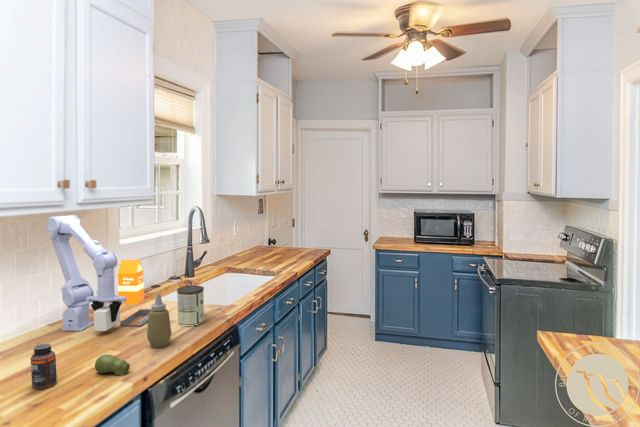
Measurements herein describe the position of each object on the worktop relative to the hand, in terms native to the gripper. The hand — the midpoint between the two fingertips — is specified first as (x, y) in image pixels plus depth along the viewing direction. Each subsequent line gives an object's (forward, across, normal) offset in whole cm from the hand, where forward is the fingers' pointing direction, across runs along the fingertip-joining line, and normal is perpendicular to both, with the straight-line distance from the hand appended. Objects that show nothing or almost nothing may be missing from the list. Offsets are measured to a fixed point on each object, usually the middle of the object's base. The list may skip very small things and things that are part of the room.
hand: (107, 320), depth 166 cm
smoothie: (+4, +14, -24) cm, 28 cm away
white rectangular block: (+2, 0, 0) cm, 2 cm away
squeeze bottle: (+4, -25, +12) cm, 28 cm away
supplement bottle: (+4, -5, +43) cm, 44 cm away
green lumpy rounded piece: (+4, -20, +34) cm, 40 cm away
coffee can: (+4, -28, -12) cm, 31 cm away
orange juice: (+4, +10, -40) cm, 41 cm away
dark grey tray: (+4, -6, -14) cm, 16 cm away
